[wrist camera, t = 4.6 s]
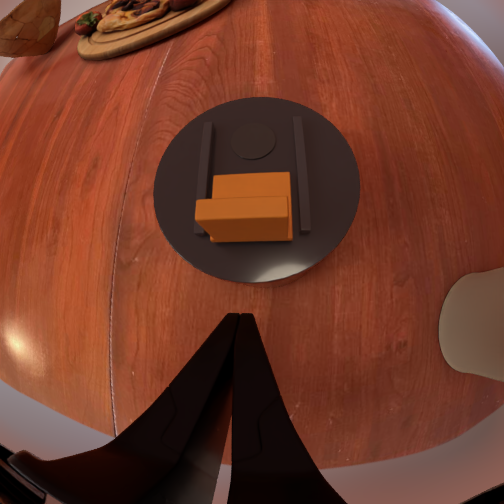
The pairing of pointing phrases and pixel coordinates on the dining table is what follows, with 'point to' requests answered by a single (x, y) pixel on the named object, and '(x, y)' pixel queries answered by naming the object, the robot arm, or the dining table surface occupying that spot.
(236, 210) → the slider
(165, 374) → the dining table surface
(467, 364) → the can
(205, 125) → the round container with rails
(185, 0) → the wooden plate
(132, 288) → the dining table surface
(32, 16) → the bowl
